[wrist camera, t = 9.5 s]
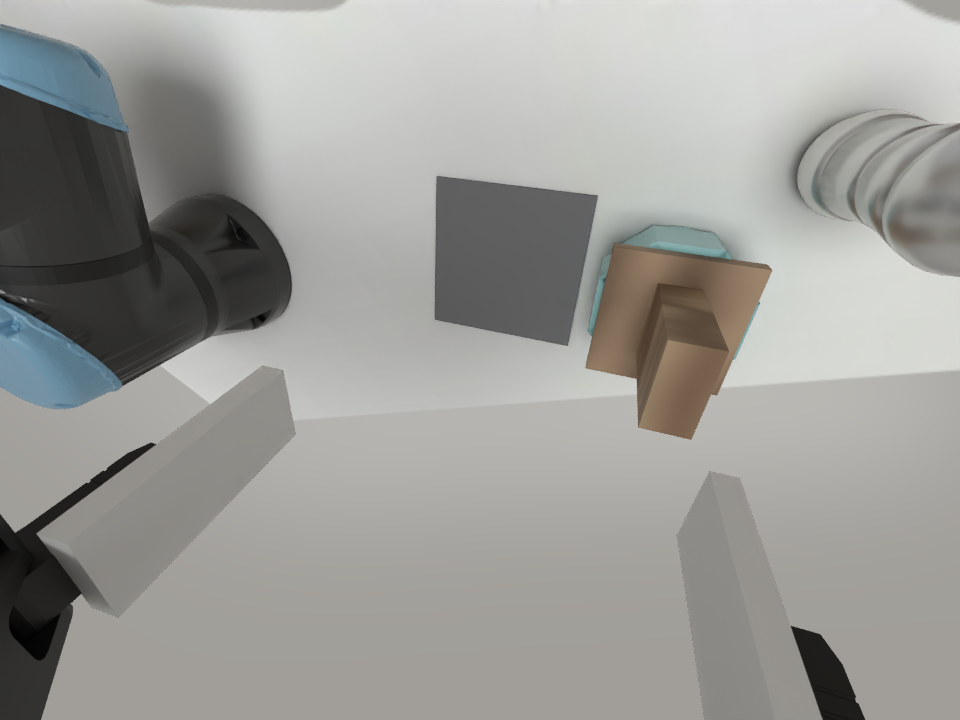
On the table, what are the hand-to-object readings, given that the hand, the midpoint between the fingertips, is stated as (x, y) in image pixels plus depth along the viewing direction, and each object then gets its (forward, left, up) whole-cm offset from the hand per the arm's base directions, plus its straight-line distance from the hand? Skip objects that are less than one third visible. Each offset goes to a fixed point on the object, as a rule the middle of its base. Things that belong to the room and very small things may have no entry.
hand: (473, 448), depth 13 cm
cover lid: (+8, -4, -23) cm, 24 cm away
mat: (-5, -4, -29) cm, 29 cm away
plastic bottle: (+18, +7, -29) cm, 34 cm away
